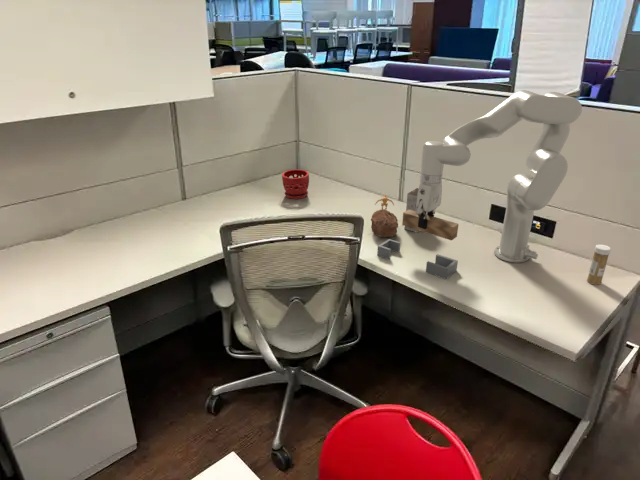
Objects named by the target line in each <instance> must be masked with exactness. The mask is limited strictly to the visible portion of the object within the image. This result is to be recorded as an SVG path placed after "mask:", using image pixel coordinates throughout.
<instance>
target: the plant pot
mask: <svg viewBox="0 0 640 480" xmlns="http://www.w3.org/2000/svg"><path fill="white" fill-rule="evenodd" d="M281 177H282V179H281V180H282V186H283V189H284V191H285V192H284V196H285V197H286V198H288V199H292V200H300V199H304V198H306V197H307V196H308V194H309V191H308V189H309V185H310V173H309V172H308V171H307V170H304V169H290V170H286V171H283V172H282V174H281Z"/></svg>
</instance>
